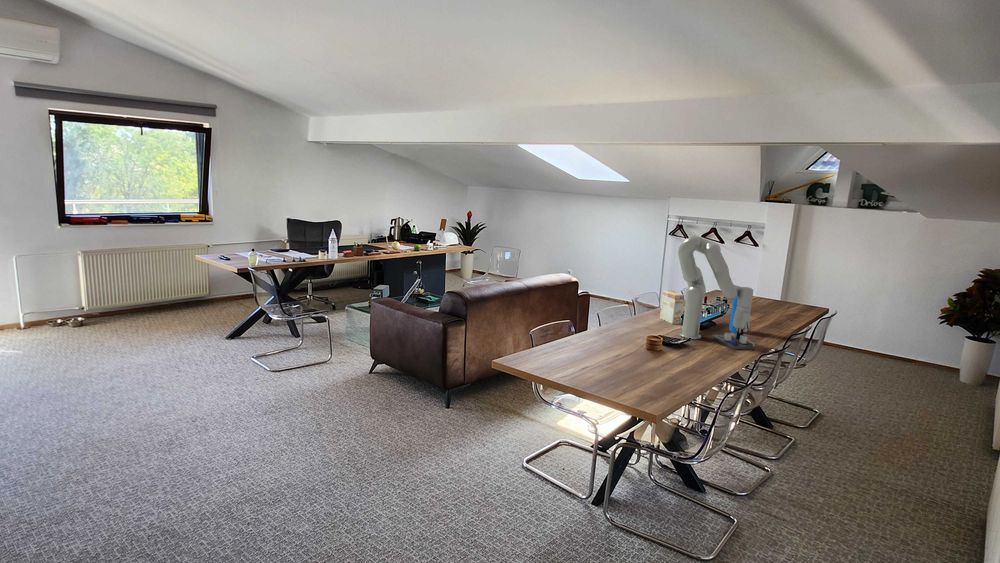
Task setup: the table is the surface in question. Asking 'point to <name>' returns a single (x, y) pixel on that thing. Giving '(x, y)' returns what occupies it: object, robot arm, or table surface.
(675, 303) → the coffeecake box
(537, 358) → the table surface
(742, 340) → the fader far
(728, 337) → the fader near
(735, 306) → the thermos
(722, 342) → the console
